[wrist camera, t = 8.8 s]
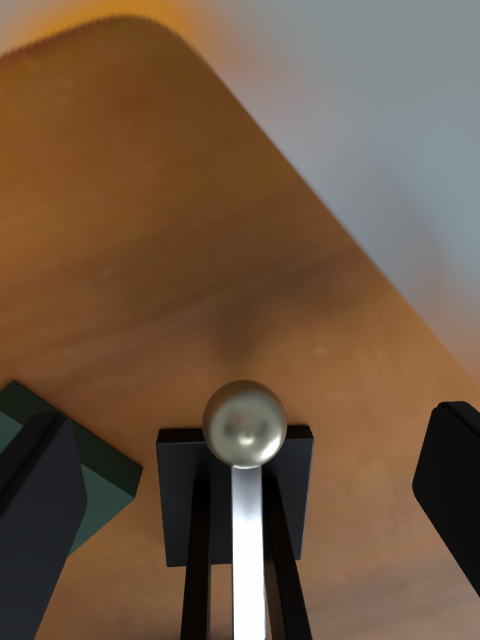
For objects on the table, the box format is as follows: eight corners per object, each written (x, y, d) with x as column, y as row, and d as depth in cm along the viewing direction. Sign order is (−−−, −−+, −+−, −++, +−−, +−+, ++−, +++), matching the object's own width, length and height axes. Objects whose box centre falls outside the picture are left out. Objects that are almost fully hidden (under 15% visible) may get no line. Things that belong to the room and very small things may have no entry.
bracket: (159, 429, 20) (66, 790, 8) (309, 424, 20) (444, 754, 8) (168, 549, 23) (115, 934, 11) (297, 543, 24) (381, 900, 11)
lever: (203, 378, 14) (199, 383, 11) (277, 377, 14) (293, 381, 11) (204, 755, 13) (200, 888, 9) (289, 747, 13) (312, 874, 10)
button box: (13, 379, 18) (-41, 427, 14) (143, 468, 20) (126, 528, 17) (-94, 496, 20) (-165, 564, 16) (36, 564, 23) (0, 636, 19)
